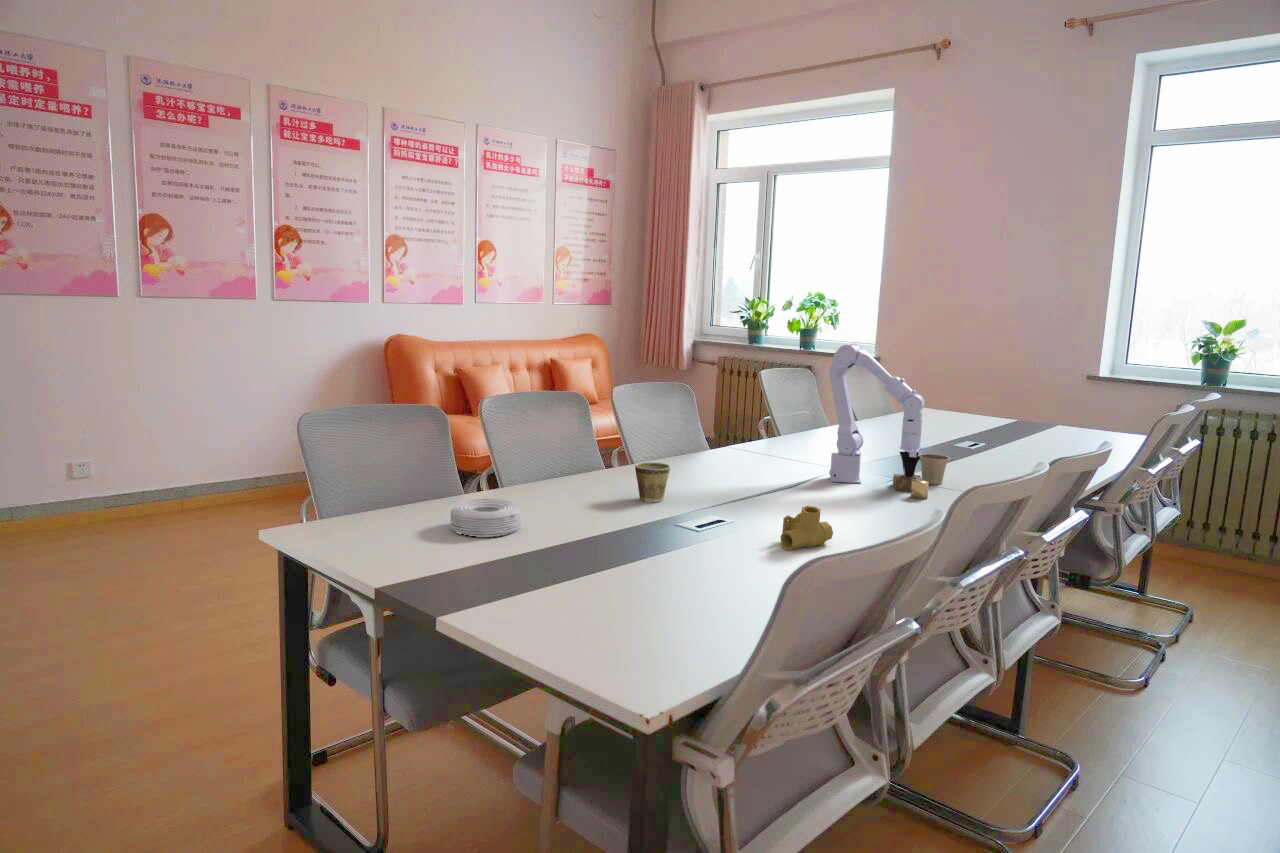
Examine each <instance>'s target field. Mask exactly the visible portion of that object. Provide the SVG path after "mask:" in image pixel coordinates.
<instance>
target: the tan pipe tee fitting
mask: <svg viewBox="0 0 1280 853" xmlns="http://www.w3.org/2000/svg"><path fill="white" fill-rule="evenodd" d="M821 510H822V509H820V508H819V507H817V506H812V505H806V506H802V507H801V512H800V513H798V514H796V516H795V517H792V516H790V515H788V514H787V515H785V517H783V520H782V532H781V534H780V545H781V546H782V547H783V548H784V550H786V551H793V550H797V549H799V548H804V549H808V548H812V547H815V546H823V545H824V544H825V543H826V541H829V540H832V538H833V536H834V531H833V527H832V525H830V523H828V522H827V521H822V522H821V521H820V520H821Z"/></svg>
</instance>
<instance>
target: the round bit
mask: <svg viewBox="0 0 1280 853" xmlns="http://www.w3.org/2000/svg"><path fill="white" fill-rule="evenodd" d="M929 485H930V484H929V482H928V481H925V480H912V486H911V491H910V498H911V499H914V500H922V501H923V500H928V495H929Z"/></svg>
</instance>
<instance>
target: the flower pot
mask: <svg viewBox="0 0 1280 853" xmlns="http://www.w3.org/2000/svg"><path fill="white" fill-rule="evenodd" d="M918 456H920V457H921V458H920V459H919V461H920V465H921V466H920V470H921V478H922V480H925V481H928V482H929V485H935V486H936V485H942V484H943V480H944V476H945V472H946V467H947V464H948V462H949V460H950V457H949V456H947V455H943V454H936V453H922V454H921V453H920V454H918Z"/></svg>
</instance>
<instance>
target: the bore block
mask: <svg viewBox="0 0 1280 853" xmlns="http://www.w3.org/2000/svg"><path fill="white" fill-rule="evenodd" d="M892 477H893V478H892V486H893V488H894V490H895V491H901V492H911V486H912V480H922V476H921V475H916V474H915V477H914V479H904V478H903V473H901V474H900V473H893V476H892Z"/></svg>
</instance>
